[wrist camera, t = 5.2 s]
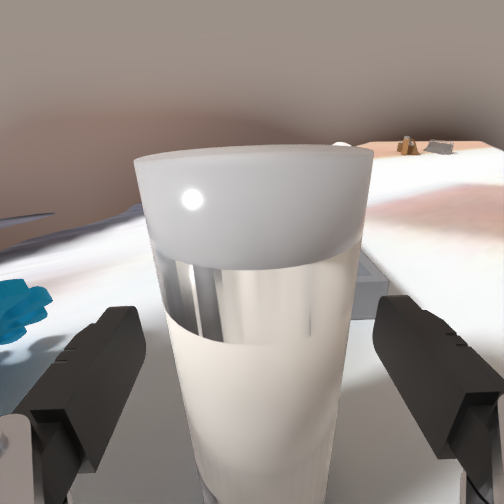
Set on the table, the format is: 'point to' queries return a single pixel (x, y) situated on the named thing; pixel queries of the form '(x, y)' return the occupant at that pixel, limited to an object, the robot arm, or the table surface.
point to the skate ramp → (434, 147)
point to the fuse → (258, 305)
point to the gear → (20, 308)
